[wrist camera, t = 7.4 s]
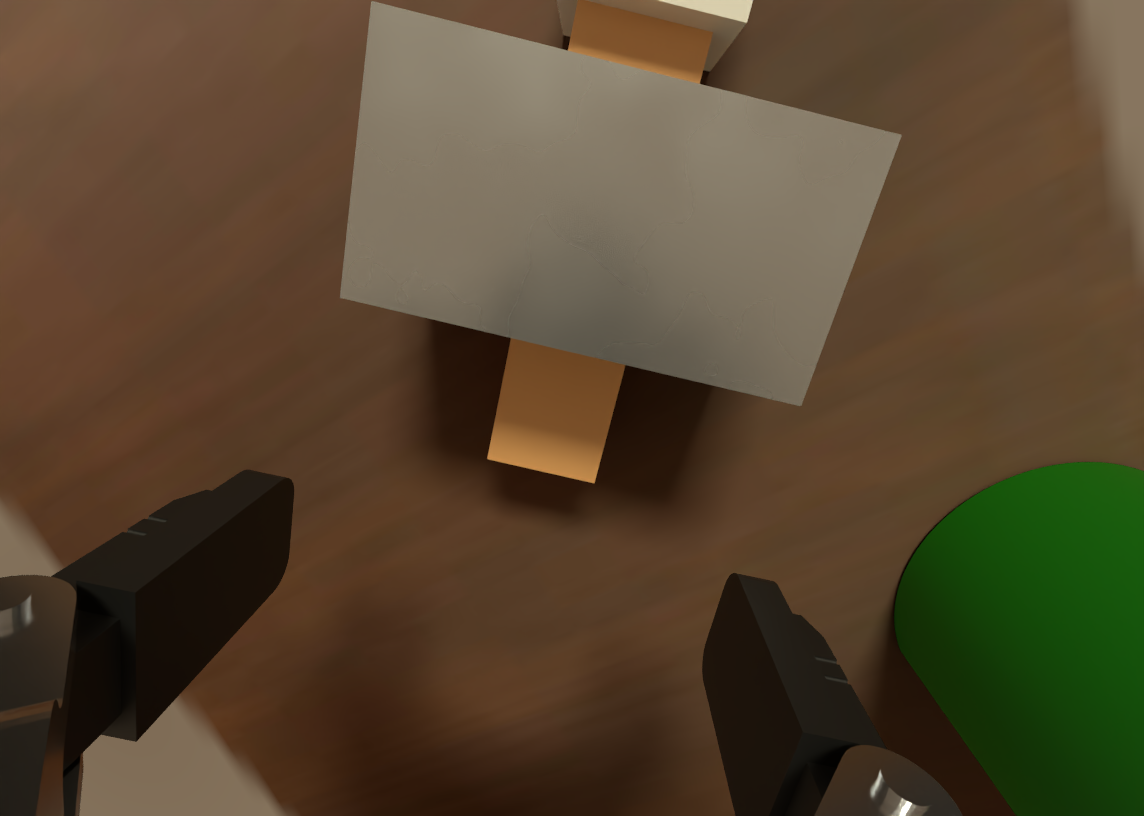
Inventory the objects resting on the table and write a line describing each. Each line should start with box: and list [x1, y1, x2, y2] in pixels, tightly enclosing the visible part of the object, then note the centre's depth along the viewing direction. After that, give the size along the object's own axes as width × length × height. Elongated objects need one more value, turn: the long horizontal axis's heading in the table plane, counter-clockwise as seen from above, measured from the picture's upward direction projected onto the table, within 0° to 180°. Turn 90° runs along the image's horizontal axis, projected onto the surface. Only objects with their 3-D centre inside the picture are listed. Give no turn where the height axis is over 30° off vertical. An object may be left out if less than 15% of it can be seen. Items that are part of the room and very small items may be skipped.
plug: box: [487, 0, 753, 483], centre depth 15 cm, size 15×4×4 cm, turn 167°
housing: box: [340, 1, 902, 406], centre depth 14 cm, size 5×9×6 cm, turn 77°
